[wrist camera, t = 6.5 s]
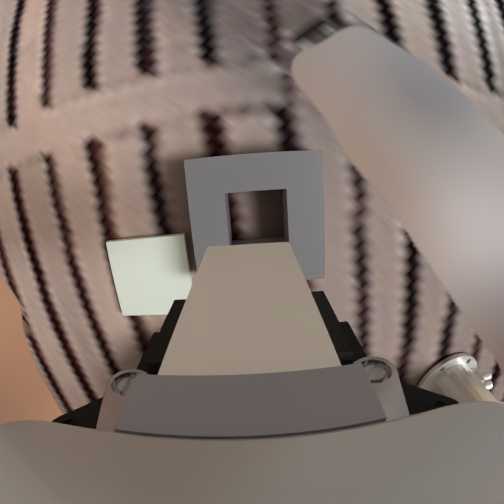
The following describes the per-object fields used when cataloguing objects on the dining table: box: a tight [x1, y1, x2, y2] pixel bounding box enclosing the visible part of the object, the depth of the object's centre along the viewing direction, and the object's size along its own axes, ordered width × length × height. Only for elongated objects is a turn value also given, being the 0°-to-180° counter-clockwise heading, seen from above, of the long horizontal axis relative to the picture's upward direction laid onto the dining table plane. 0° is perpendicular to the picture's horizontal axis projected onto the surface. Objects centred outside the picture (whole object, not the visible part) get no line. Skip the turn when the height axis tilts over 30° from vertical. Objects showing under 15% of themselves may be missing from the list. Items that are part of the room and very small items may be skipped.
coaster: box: [106, 233, 193, 315], centre depth 33 cm, size 9×9×1 cm
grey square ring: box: [184, 150, 324, 280], centre depth 30 cm, size 12×12×4 cm
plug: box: [114, 242, 387, 439], centre depth 10 cm, size 5×5×12 cm
